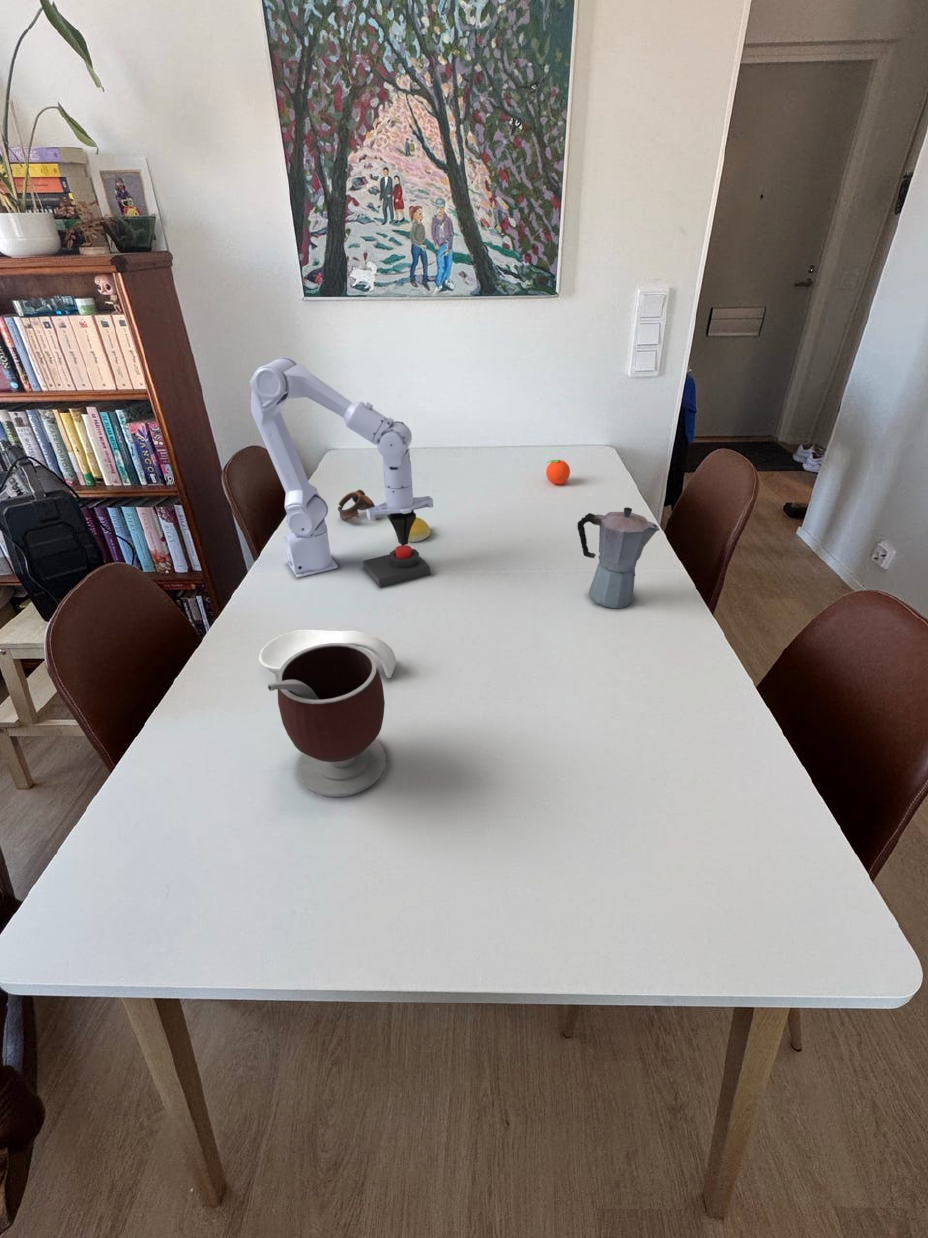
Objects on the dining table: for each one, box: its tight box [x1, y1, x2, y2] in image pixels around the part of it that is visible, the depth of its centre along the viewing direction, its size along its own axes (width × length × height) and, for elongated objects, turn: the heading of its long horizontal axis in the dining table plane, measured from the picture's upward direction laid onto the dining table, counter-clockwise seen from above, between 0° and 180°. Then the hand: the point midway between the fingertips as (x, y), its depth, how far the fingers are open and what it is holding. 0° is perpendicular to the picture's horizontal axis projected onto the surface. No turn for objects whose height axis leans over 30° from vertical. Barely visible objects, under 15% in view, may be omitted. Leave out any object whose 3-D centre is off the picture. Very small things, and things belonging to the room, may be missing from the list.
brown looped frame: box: [337, 489, 379, 521], centre depth 165 cm, size 12×10×8 cm
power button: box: [394, 544, 413, 559], centre depth 139 cm, size 4×4×2 cm
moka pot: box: [576, 506, 660, 609], centre depth 124 cm, size 10×15×20 cm, turn 78°
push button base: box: [362, 548, 431, 589], centre depth 139 cm, size 12×10×4 cm
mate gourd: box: [267, 643, 387, 798], centre depth 85 cm, size 16×14×20 cm
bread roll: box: [408, 516, 432, 543], centre depth 155 cm, size 8×9×4 cm
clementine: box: [545, 459, 571, 485], centre depth 183 cm, size 8×7×7 cm
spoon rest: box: [258, 629, 397, 679], centre depth 109 cm, size 24×12×7 cm, turn 83°
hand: (403, 543), depth 138 cm, fingers closed
